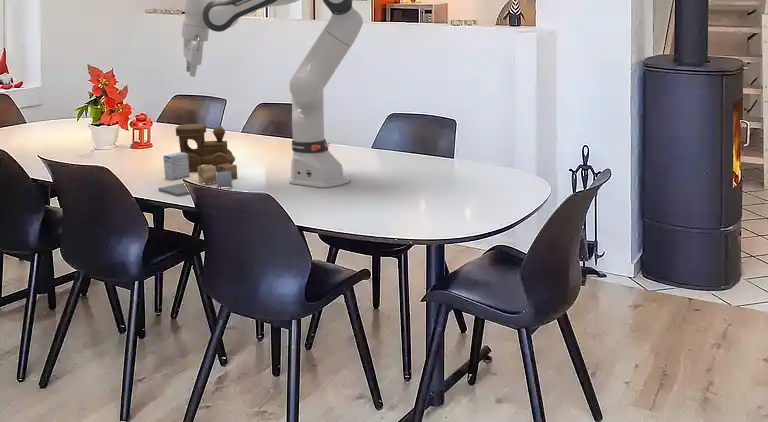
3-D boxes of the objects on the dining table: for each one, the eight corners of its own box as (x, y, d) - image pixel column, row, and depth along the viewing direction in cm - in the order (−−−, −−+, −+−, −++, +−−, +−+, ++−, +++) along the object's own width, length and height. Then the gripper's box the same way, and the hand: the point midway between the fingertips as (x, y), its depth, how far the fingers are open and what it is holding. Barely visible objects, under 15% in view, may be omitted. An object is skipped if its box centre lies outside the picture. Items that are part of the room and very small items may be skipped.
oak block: (216, 182, 308) (215, 166, 306) (206, 185, 305) (205, 168, 303) (209, 181, 311) (208, 164, 309) (198, 183, 308) (197, 166, 306)
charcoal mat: (206, 190, 297) (206, 187, 297) (178, 196, 289) (178, 193, 289) (186, 185, 305) (185, 182, 305) (158, 191, 297) (158, 188, 297)
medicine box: (182, 174, 321) (180, 151, 319) (190, 176, 319) (188, 153, 316) (164, 178, 315) (162, 155, 313) (172, 180, 313) (170, 156, 310)
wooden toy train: (178, 172, 325) (174, 128, 321) (184, 166, 336) (180, 123, 332) (231, 171, 326) (229, 127, 321) (236, 164, 337) (233, 122, 332)
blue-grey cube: (235, 187, 301) (234, 172, 300) (223, 189, 298) (222, 175, 296) (226, 184, 304) (225, 170, 303) (214, 187, 301) (213, 173, 300)
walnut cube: (237, 178, 314) (236, 165, 312) (226, 181, 310) (225, 167, 309) (229, 176, 317) (228, 163, 316) (217, 179, 314) (216, 165, 312)
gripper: (208, 38, 289) (203, 80, 293) (200, 31, 308) (195, 70, 311) (189, 36, 287) (184, 77, 291) (182, 29, 305) (177, 68, 309)
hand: (190, 74), depth 301 cm, fingers open, 8 cm apart
